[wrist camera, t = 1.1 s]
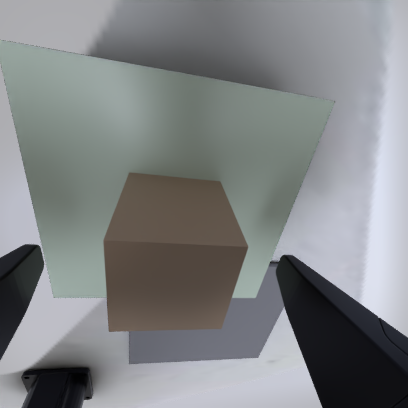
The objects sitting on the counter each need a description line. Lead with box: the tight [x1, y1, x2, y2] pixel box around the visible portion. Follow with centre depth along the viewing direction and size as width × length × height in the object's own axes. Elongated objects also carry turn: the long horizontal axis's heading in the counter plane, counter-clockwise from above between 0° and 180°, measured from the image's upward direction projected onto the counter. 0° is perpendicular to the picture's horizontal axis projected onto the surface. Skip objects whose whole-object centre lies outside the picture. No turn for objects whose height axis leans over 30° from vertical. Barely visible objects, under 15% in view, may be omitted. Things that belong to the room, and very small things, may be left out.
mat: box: [129, 263, 284, 364], centre depth 23 cm, size 15×15×1 cm
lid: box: [0, 40, 335, 332], centre depth 10 cm, size 12×12×5 cm
